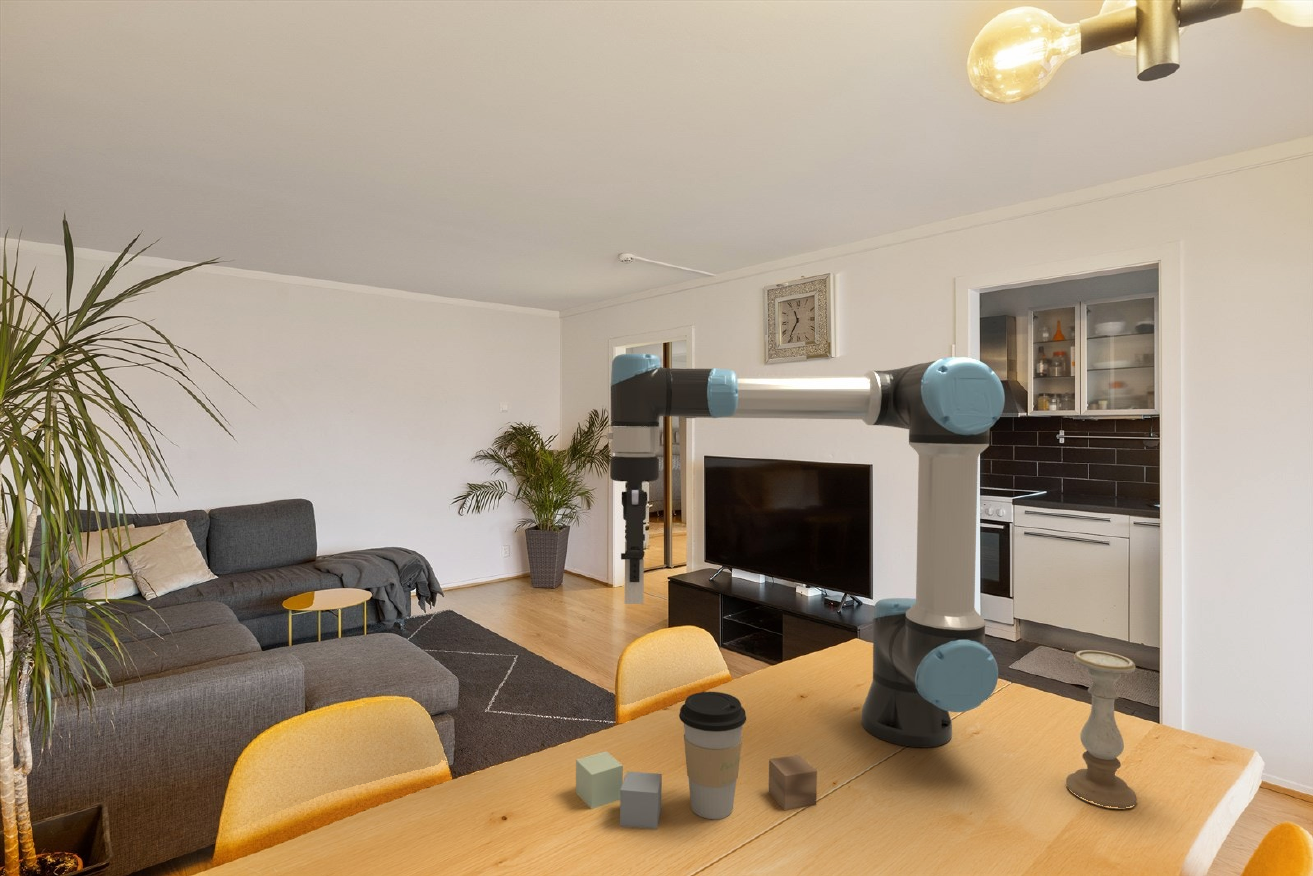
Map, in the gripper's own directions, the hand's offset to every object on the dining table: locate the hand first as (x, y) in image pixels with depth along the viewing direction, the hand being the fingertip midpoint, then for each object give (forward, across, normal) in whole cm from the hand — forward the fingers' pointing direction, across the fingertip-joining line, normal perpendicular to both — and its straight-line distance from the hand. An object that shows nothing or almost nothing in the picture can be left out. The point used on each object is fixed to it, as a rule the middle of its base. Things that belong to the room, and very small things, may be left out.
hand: (633, 591), depth 106 cm
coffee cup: (+28, +11, +11) cm, 32 cm away
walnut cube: (+28, +9, +23) cm, 37 cm away
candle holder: (+28, +9, +69) cm, 75 cm away
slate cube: (+28, +13, +1) cm, 31 cm away
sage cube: (+28, +7, -5) cm, 29 cm away
